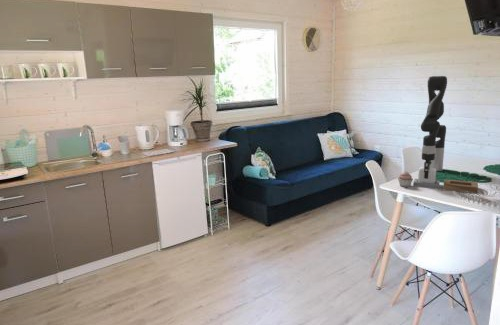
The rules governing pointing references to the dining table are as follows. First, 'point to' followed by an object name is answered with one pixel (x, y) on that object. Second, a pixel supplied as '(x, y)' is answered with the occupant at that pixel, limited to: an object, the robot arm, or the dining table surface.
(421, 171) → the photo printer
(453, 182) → the dock
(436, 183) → the holster
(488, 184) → the dining table surface
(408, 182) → the cupcake
